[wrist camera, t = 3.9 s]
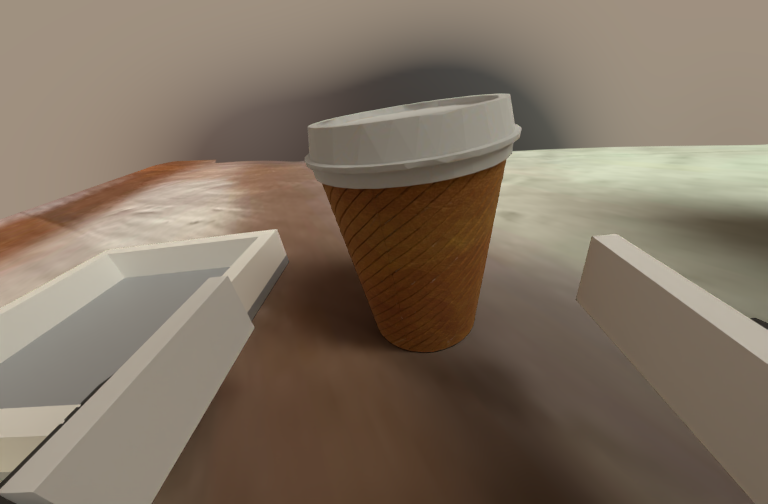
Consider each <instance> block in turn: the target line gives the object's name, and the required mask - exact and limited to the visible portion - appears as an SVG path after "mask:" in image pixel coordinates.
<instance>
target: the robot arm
mask: <svg viewBox="0 0 768 504" xmlns="http://www.w3.org/2000/svg"><path fill="white" fill-rule="evenodd" d="M576 300H577V301H578V302H579V304H580V305H581V306H582V307H583V308H584V309H585V310H586V312H587V313H588V314H589V315H590V316H591V317H592V318H593V320H594V321H595V322H596V323H597V324H598V325H599V326H600V328H601V329H602V330H603V331H604V332H605V333H606V334H607V336H608V337H609V338H610V339H611V340H612V341H613V342H614V344H615V345H616V346H617V347H618V348H619V349H620V350H621V352H622V353H623V354H624V355H625V356H626V357H627V358H628V359H629V361H630V362H631V363H632V364H633V365H634V366H635V367H636V369H637V370H638V371H639V372H640V373H641V374H642V375H643V377H644V378H645V379H646V380H647V381H648V382H649V383H650V385H651V386H652V387H653V388H654V389H655V390H656V391H657V393H658V394H659V395H660V396H661V397H662V398H663V399H664V401H665V402H666V403H667V404H668V405H669V406H670V407H671V409H672V410H673V411H674V412H675V413H676V414H677V415H678V417H679V418H680V419H681V420H682V421H683V422H684V423H685V424H686V426H687V427H688V428H689V429H690V430H691V431H692V432H693V434H694V435H695V436H696V437H697V438H698V439H699V440H700V442H701V443H702V444H703V445H704V446H705V447H706V448H707V450H708V451H709V452H710V453H711V454H712V455H713V456H714V458H715V459H716V460H717V461H718V462H719V463H720V464H721V466H722V467H723V468H724V469H725V470H726V471H727V472H728V474H729V475H730V476H731V477H732V478H733V479H734V480H735V481H736V483H737V484H738V485H739V486H740V487H741V488H742V489H743V491H744V492H745V493H746V494H747V495H748V496H749V497H750V499H751V500H752V501H753V502H754V503H755V504H768V323H766V322H764V321H761V320H759V319H757V318H748V317H747V316H745V315H743V314H742V313H740V312H739V311H737V310H736V309H734V308H732V307H731V306H729V305H728V304H726V303H725V302H723V301H721V300H720V299H718V298H717V297H715V296H714V295H712V294H710V293H709V292H707V291H706V290H704V289H703V288H701V287H699V286H698V285H696V284H695V283H693V282H692V281H690V280H689V279H687V278H685V277H684V276H682V275H681V274H679V273H678V272H676V271H674V270H673V269H671V268H670V267H668V266H667V265H665V264H663V263H662V262H660V261H659V260H657V259H656V258H654V257H652V256H651V255H649V254H648V253H646V252H645V251H643V250H641V249H640V248H638V247H637V246H635V245H634V244H632V243H630V242H629V241H627V240H626V239H624V238H623V237H621V236H619V235H618V234H607V235H598V236H592V238H591V242H590V246H589V250H588V254H587V258H586V262H585V266H584V270H583V273H582V277H581V281H580V285H579V289H578V293H577V297H576ZM253 330H254V326H253V324H252V322H251V320H250V318H249V316H248V314H247V312H246V310H245V308H244V306H243V304H242V302H241V300H240V298H239V296H238V294H237V293H236V291H235V289H234V287H233V285H232V283H231V281H230V279H229V277H228V276H220V277H211V278H208V279H207V280H206V281H205V282H204V283H203V284H202V285H201V287H200V288H199V289H198V290H197V291H196V292H195V293H194V294H193V295H192V296H191V297H190V298H189V299H188V300H187V301H186V302H185V303H184V304H183V305H182V306H181V307H180V308H179V309H178V310H177V311H176V312H175V313H174V314H173V315H172V316H171V317H170V318H169V319H168V320H167V321H166V322H165V323H164V324H163V325H162V326H161V327H160V328H159V329H158V330H157V331H156V332H155V333H154V334H153V335H152V336H151V337H150V338H149V339H148V340H147V341H146V342H145V343H144V344H143V345H142V346H141V347H140V348H139V349H138V350H137V351H136V352H135V353H134V354H133V355H132V356H131V357H130V358H129V359H128V360H127V361H126V362H125V363H124V364H123V365H122V366H121V367H120V368H119V369H118V370H117V371H116V372H115V373H114V374H113V375H111V376H110V377H109V378H107V379H106V380H105V381H103V382H102V383H101V384H99V385H98V386H97V387H96V388H95V389H94V390H93V391H92V392H91V393H90V394H89V395H88V396H87V397H86V398H85V399H84V400H83V401H82V402H81V405H80V407H76V408H75V409H74V410H73V411H72V412H71V413H70V414H69V415H68V416H67V417H66V418H65V419H64V420H65V421H64V423H63V424H59V425H58V426H57V427H56V428H55V429H54V430H53V431H52V432H51V433H50V434H49V435H48V436H47V437H46V438H45V439H44V440H43V441H42V442H41V443H40V444H39V445H38V446H37V447H36V448H35V449H34V450H33V451H32V452H31V453H30V454H29V455H28V456H27V457H26V458H25V459H24V460H23V461H22V462H21V463H20V464H19V465H18V466H17V467H16V468H15V469H14V470H13V471H12V472H11V473H10V474H9V475H8V476H7V477H6V478H5V479H4V480H3V481H2V482H1V483H0V504H152V502H153V500H154V498H155V497H156V495H157V493H158V492H159V490H160V488H161V487H162V485H163V483H164V481H165V480H166V478H167V476H168V475H169V473H170V471H171V470H172V468H173V466H174V464H175V463H176V461H177V459H178V458H179V456H180V454H181V452H182V451H183V449H184V447H185V446H186V444H187V442H188V441H189V439H190V437H191V435H192V434H193V432H194V430H195V429H196V427H197V425H198V424H199V422H200V420H201V418H202V417H203V415H204V413H205V412H206V410H207V408H208V406H209V405H210V403H211V401H212V400H213V398H214V396H215V395H216V393H217V391H218V389H219V388H220V386H221V384H222V383H223V381H224V379H225V378H226V376H227V374H228V372H229V371H230V369H231V367H232V366H233V364H234V362H235V360H236V359H237V357H238V355H239V354H240V352H241V350H242V349H243V347H244V345H245V343H246V342H247V340H248V338H249V337H250V335H251V333H252V332H253Z"/></svg>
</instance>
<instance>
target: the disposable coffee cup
mask: <svg viewBox="0 0 768 504" xmlns="http://www.w3.org/2000/svg"><path fill="white" fill-rule="evenodd" d="M520 132H521V127H520V126H518V125H516V124H515V123H514V116H513V110H512V104H511V97H510V94H486V95H475V96H465V97H457V98H449V99H442V100H433V101H428V102H420V103H414V104H407V105H401V106H395V107H390V108H384V109H378V110H372V111H366V112H361V113H356V114H352V115H347V116H342V117H337V118H333V119H329V120H324V121H320V122H317V123H314V124H311V125H309V126H308V139H309V154H308V155H307V156H306V157H305V162H306V165H307V167H308V168H310V169H312V170H313V172H314V175H315V177H316V179H317V181H319V182H321V183H322V184H323V187H324V189H325V192H326V194H327V197H328V200H329V202H330V205H331V209H332V211H333V213H334V215H335V217H336V221H337V223H338V226H339V228H340V232H341V234H342V236H343V238H344V241H345V244H346V246H347V248H348V252H349V254H350V256H351V258H352V262H353V264H354V266H355V270H356V272H357V274H358V276H359V280H360V282H361V284H362V288H363V290H364V292H365V295H366V297H367V300H368V302H369V305H370V307H371V309H372V313H373V315H374V316H375V317H374V318H375V320H376V323H377V327H378V328H379V330H380V332H381V334H382V335H383V336H384V337H385V338H386V339H387V340H388V341H389V342H390V343H392V344H394V345H396V346H398V347H400V348H403V349H406V350H409V351H418V352H434V351H438V350H443V349H446V348H448V347H450V346H453V345H455V344H457V343H458V342H460V341H461V340H463V339H464V338H465V337H466V336H467V335H468V334H469V332H470V330H471V329H472V327H473V324H474V320H475V313H476V308H477V303H478V298H479V293H480V288H481V283H482V278H483V273H484V268H485V263H486V258H487V253H488V248H489V243H490V238H491V233H492V228H493V222H494V218H495V213H496V207H497V203H498V197H499V192H500V187H501V182H502V179H503V173H504V168H505V164H506V159H507V158H508V157H509V156H510V155H511V154H512V148H513V142H514V141H516V140H517V139H519V137H520Z"/></svg>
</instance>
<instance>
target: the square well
mask: <svg viewBox="0 0 768 504" xmlns="http://www.w3.org/2000/svg"><path fill="white" fill-rule="evenodd" d="M288 262H289V260H288V258H287V255H286V252H285V249H284V247H283V244H282V241H281V239H280V236H279V233H278V230H277V229H274V230H266V231H257V232H249V233H240V234H232V235H224V236H215V237H207V238H199V239H190V240H182V241H173V242H165V243H157V244H148V245H140V246H132V247H123V248H115V249H107V250H105V251H104V252H102V253H100V254H98V255H96V256H94V257H93V258H91V259H89V260H87V261H85V262H84V263H82V264H80V265H78V266H76V267H74V268H73V269H71V270H69V271H67V272H65V273H63V274H62V275H60V276H58V277H56V278H54V279H52V280H51V281H49V282H47V283H45V284H43V285H42V286H40V287H38V288H36V289H34V290H32V291H31V292H29V293H27V294H25V295H23V296H21V297H20V298H18V299H16V300H14V301H12V302H11V303H9V304H7V305H5V306H3V307H1V308H0V481H3V480H4V479H5V478H6V477H7V476H8V475H9V474H10V473H11V472H12V471H13V470H14V469H15V468H16V467H17V466H18V465H19V464H20V463H21V462H22V461H23V460H24V459H25V458H26V457H27V456H28V455H29V454H30V453H31V452H32V451H33V450H34V449H35V448H36V447H37V446H38V445H39V444H40V443H41V442H42V441H43V440H44V439H45V438H46V437H47V436H48V435H49V434H50V433H51V432H52V431H53V430H54V429H55V428H56V427H57V426H58V425H59V424H63V423H64V421H65V420H64V419H65V418H66V417H67V416H68V415H69V414H70V413H71V412H72V411H73V410H74V409H75V408H76V407H80V405H81V402H82V401H83V400H84V399H85V398H86V397H87V396H88V395H89V394H90V393H91V392H92V391H93V390H94V389H95V388H96V387H97V386H98V385H99V384H101V383H102V382H103V381H105V380H106V379H107V378H109V377H110V376H111V375H113V374H114V373H115V372H116V371H117V370H118V369H119V368H120V367H121V366H122V365H123V364H124V363H125V362H126V361H127V360H128V359H129V358H130V357H131V356H132V355H133V354H134V353H135V352H136V351H137V350H138V349H139V348H140V347H141V346H142V345H143V344H144V343H145V342H146V341H147V340H148V339H149V338H150V337H151V336H152V335H153V334H154V333H155V332H156V331H157V330H158V329H159V328H160V327H161V326H162V325H163V324H164V323H165V322H166V321H167V320H168V319H169V318H170V317H171V316H172V315H173V314H174V313H175V312H176V311H177V310H178V309H179V308H180V307H181V306H182V305H183V304H184V303H185V302H186V301H187V300H188V299H189V298H190V297H191V296H192V295H193V294H194V293H195V292H196V291H197V290H198V289H199V288H200V287H201V285H202V284H203V283H204V282H205V281H206V280H207V279H208V278H211V277H220V276H228V277H229V279H230V281H231V283H232V285H233V287H234V289H235V291H236V293H237V294H238V296H239V298H240V300H241V302H242V304H243V306H244V308H245V310H246V312H247V314H248V316H249V318H250V320H251V321H252V320H253V318H254V316H255V315H256V313H257V312H258V310H259V309H260V307H261V305H262V304H263V302H264V301H265V299H266V297H267V296H268V294H269V293H270V291H271V289H272V288H273V286H274V285H275V283H276V281H277V280H278V278H279V277H280V275H281V274H282V272H283V270H284V269H285V267H286V266H287V264H288Z"/></svg>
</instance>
